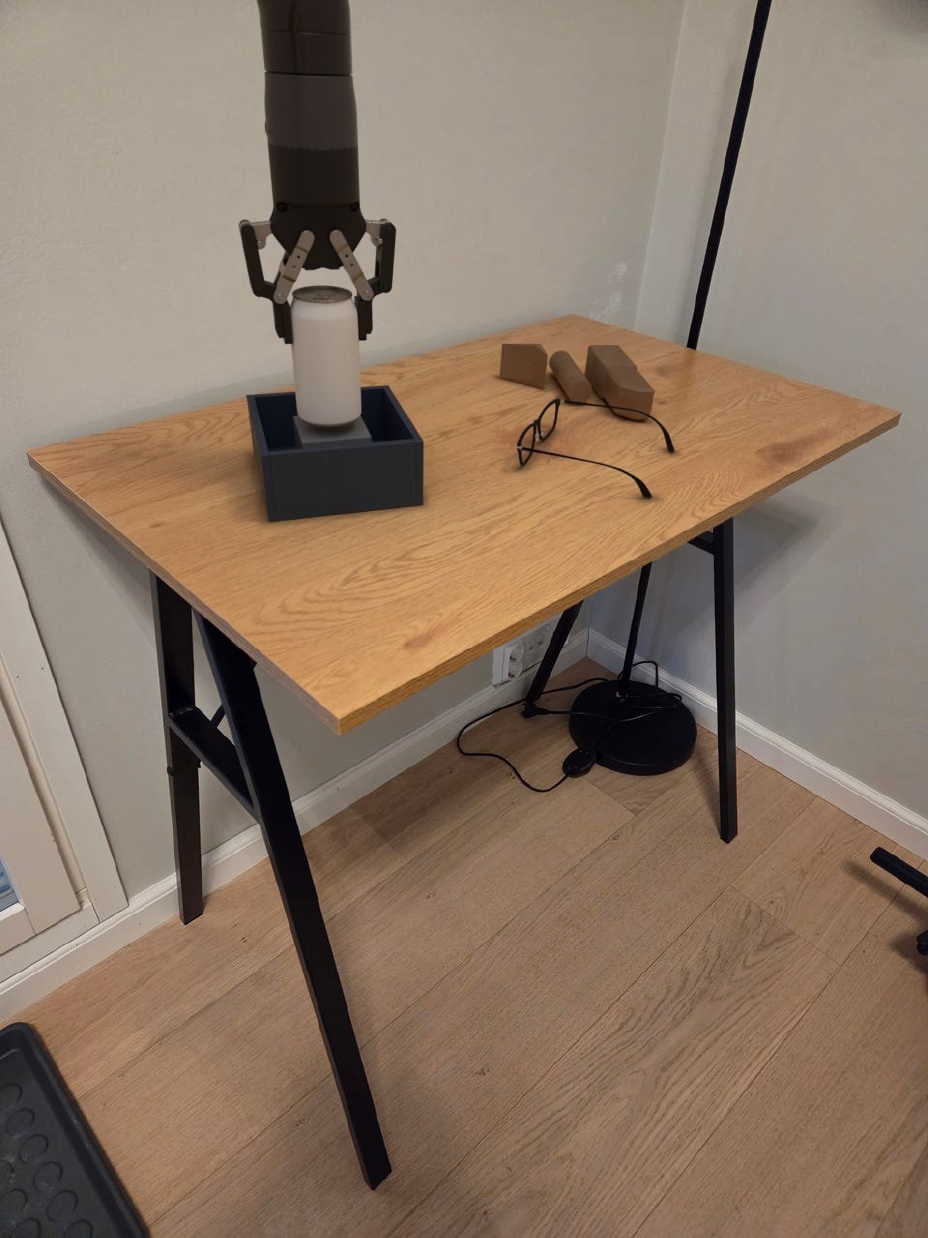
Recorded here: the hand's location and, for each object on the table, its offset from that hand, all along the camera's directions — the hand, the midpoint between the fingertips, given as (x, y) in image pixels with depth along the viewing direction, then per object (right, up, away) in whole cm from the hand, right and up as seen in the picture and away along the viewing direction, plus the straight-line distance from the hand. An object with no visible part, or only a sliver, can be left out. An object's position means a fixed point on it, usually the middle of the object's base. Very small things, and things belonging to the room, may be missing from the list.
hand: (325, 339), depth 76 cm
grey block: (-1, -11, +8) cm, 14 cm away
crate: (-1, -12, +9) cm, 15 cm away
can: (0, -6, +5) cm, 8 cm away
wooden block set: (+28, +3, +31) cm, 42 cm away
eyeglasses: (+29, -9, +15) cm, 34 cm away
